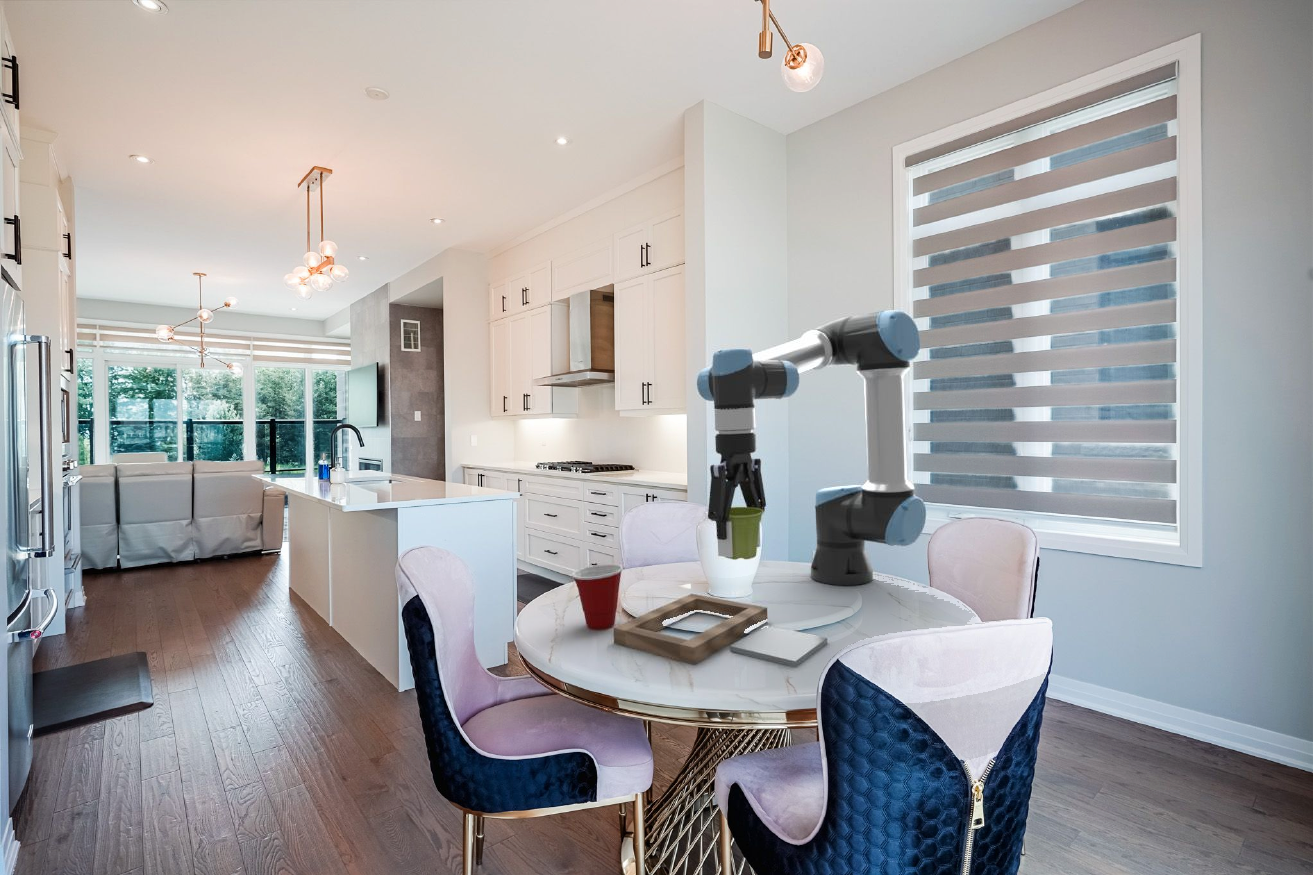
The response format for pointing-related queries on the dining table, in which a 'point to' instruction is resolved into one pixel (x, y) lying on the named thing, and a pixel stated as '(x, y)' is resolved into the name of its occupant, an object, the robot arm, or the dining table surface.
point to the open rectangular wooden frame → (696, 649)
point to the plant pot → (744, 531)
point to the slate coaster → (779, 645)
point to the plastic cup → (599, 593)
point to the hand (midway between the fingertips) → (739, 550)
